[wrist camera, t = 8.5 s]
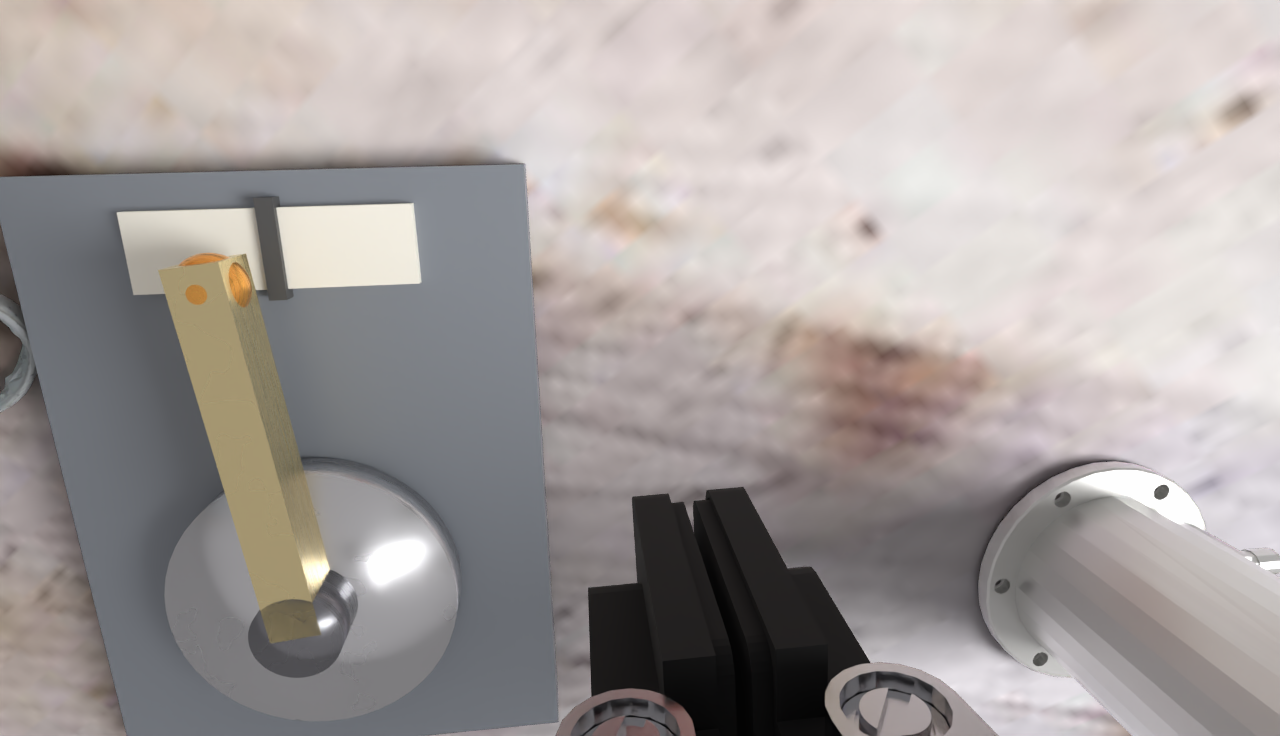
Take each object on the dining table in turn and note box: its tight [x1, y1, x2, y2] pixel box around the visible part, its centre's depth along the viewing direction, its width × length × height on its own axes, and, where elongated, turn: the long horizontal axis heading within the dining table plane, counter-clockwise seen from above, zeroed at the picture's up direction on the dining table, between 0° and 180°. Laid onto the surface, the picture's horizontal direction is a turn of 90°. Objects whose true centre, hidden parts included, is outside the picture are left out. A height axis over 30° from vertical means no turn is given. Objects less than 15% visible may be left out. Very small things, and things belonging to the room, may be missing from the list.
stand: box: [0, 164, 558, 736], centre depth 34 cm, size 20×27×3 cm
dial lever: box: [158, 253, 461, 721], centre depth 31 cm, size 21×12×4 cm, turn 7°
